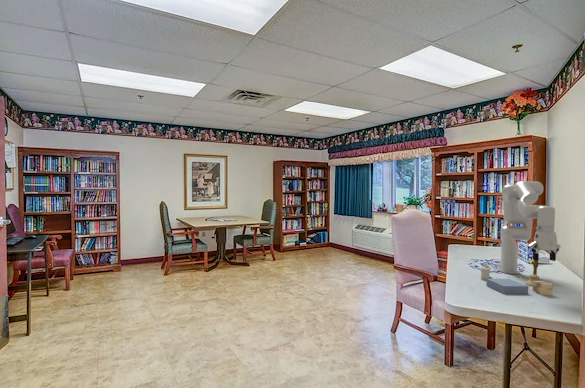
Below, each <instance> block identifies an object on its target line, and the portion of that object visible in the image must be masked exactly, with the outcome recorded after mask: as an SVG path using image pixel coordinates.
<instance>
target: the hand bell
mask: <svg viewBox="0 0 585 388" xmlns="http://www.w3.org/2000/svg"><path fill="white" fill-rule="evenodd" d="M532 267H533V272H532V274H530V275H529V279H528V280H527V281H526V282H525V285H526V286H532V287H533V281H541V280H540V276H539V275H538V268H539V260H538V261H536V260H533V262H532Z"/></svg>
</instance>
